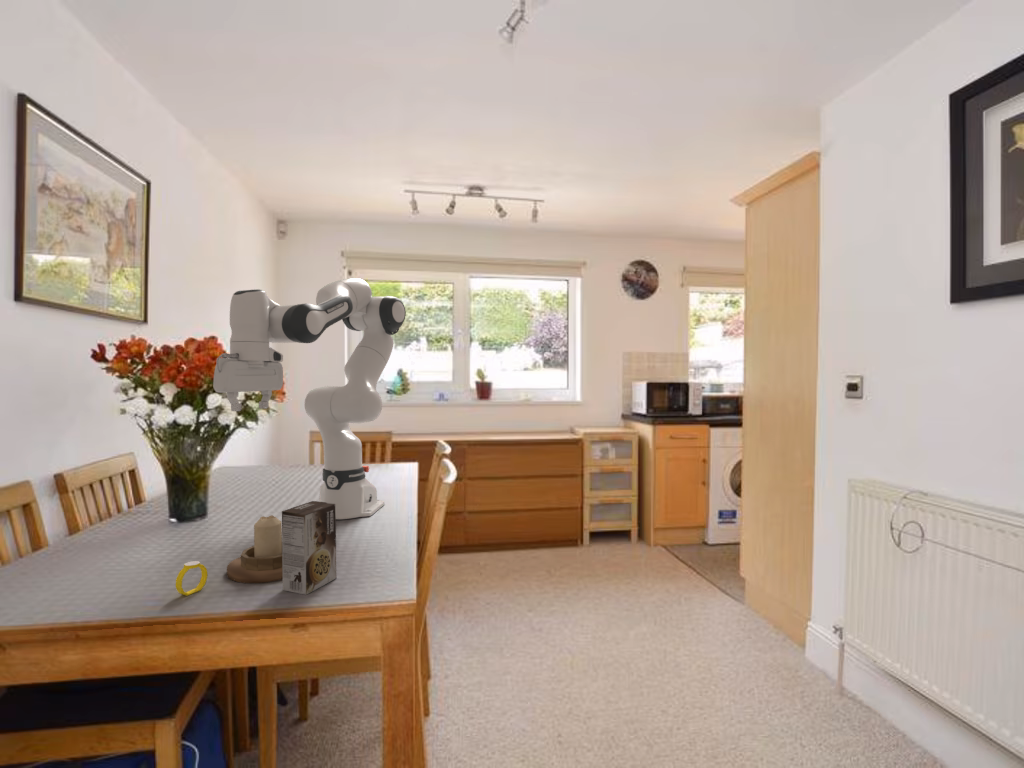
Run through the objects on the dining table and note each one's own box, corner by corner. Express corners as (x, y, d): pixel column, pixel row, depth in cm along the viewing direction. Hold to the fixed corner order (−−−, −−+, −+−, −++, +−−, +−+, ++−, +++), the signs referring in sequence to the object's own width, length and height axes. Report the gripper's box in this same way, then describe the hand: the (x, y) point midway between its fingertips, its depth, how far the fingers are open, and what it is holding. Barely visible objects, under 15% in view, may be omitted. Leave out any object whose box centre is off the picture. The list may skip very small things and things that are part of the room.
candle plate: (264, 552, 129) (263, 535, 129) (326, 558, 125) (325, 541, 125) (207, 578, 113) (207, 559, 113) (277, 587, 109) (276, 567, 109)
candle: (249, 565, 116) (248, 519, 116) (265, 556, 122) (264, 513, 122) (271, 567, 115) (271, 521, 115) (287, 558, 121) (286, 514, 121)
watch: (199, 587, 109) (201, 558, 109) (209, 589, 108) (211, 559, 108) (172, 597, 103) (173, 565, 104) (182, 599, 103) (184, 567, 103)
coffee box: (313, 574, 115) (312, 500, 115) (337, 578, 113) (337, 503, 113) (280, 590, 107) (280, 510, 107) (306, 595, 105) (305, 513, 104)
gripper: (228, 352, 122) (229, 413, 123) (287, 355, 142) (287, 407, 142) (205, 352, 124) (206, 412, 124) (267, 355, 144) (267, 406, 144)
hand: (250, 409), depth 133 cm, fingers open, 8 cm apart
